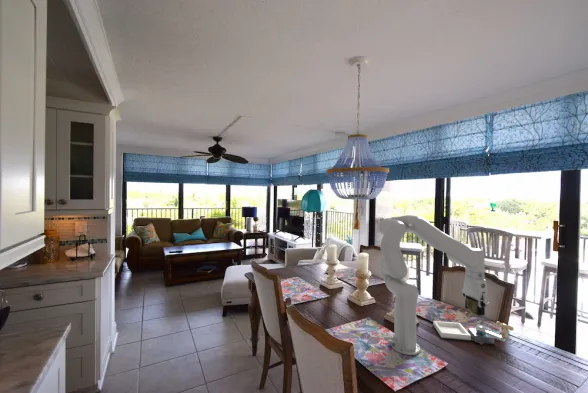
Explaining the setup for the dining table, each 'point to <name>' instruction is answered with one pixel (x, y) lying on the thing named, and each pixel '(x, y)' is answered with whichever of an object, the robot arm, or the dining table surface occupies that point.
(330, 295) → the dining table surface
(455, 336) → the tray
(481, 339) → the crank base
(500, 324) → the crank
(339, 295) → the dining table surface
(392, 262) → the robot arm
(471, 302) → the cup
